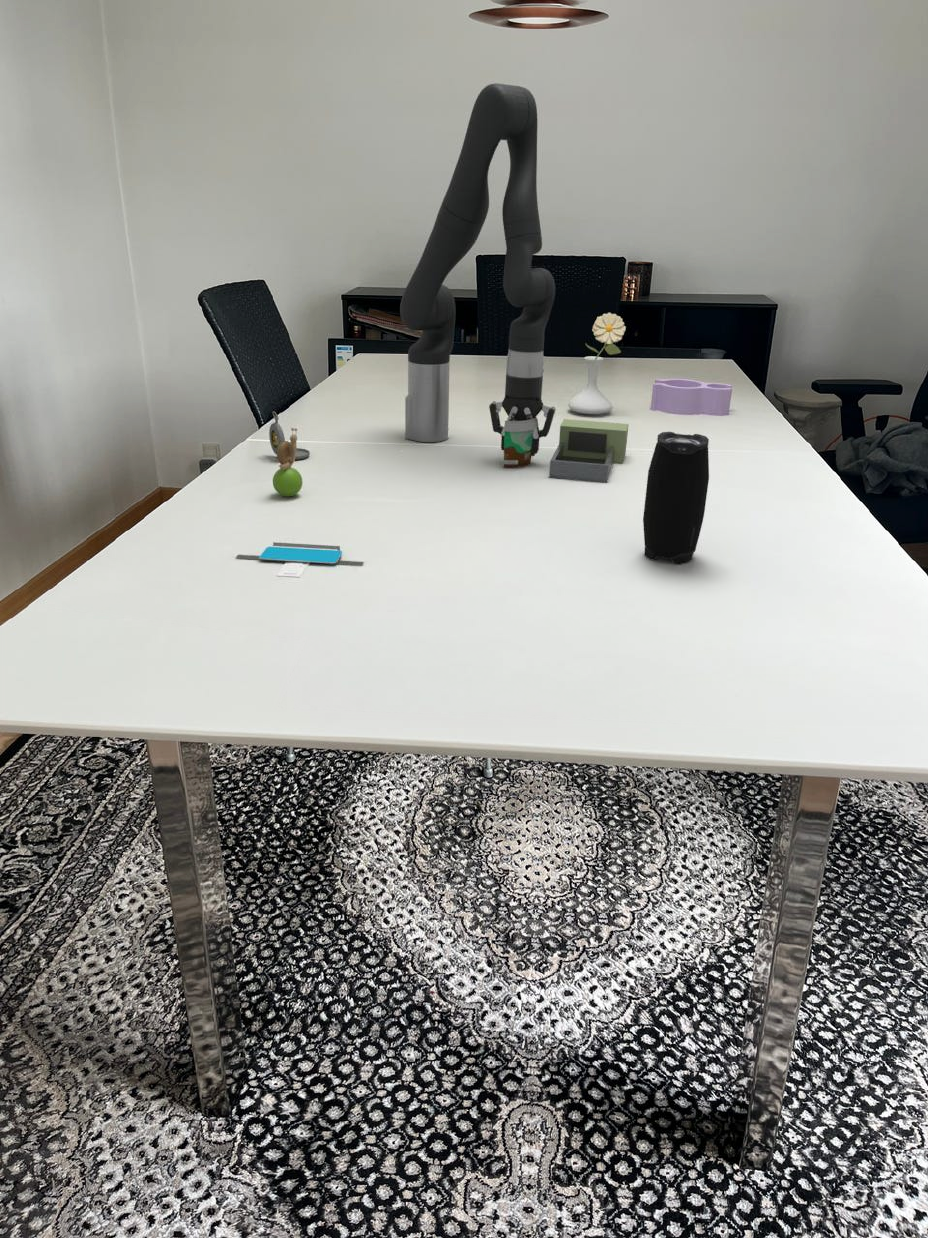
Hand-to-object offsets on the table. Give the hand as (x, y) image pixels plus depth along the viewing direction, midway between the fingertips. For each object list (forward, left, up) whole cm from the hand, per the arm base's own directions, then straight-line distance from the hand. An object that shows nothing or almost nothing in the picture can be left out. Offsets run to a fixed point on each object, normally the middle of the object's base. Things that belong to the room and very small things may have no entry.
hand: (519, 453), depth 203 cm
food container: (+1, 0, -2) cm, 2 cm away
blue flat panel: (-24, -66, -3) cm, 70 cm away
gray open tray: (+14, -1, -2) cm, 14 cm away
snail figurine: (-37, -35, -2) cm, 51 cm away
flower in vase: (+11, +52, -2) cm, 53 cm away
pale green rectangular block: (+15, +9, -2) cm, 17 cm away
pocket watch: (-47, -11, -2) cm, 49 cm away
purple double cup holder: (+35, +64, -2) cm, 73 cm away
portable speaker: (+33, -47, -2) cm, 57 cm away
